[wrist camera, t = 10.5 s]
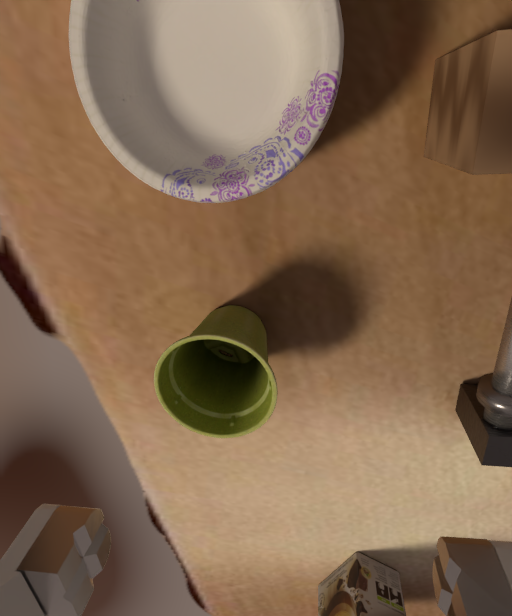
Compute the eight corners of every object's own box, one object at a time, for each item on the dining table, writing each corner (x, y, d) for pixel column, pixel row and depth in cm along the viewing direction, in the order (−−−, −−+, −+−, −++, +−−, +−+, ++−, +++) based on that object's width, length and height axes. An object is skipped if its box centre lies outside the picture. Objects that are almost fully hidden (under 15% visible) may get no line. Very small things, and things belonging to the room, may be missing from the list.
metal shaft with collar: (491, 197, 29) (536, 218, 23) (551, 196, 29) (614, 217, 23) (449, 409, 37) (475, 465, 31) (495, 411, 37) (530, 469, 31)
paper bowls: (209, -133, 24) (165, -239, 17) (384, 60, 27) (409, 39, 20) (87, 88, 30) (17, 79, 23) (240, 225, 33) (220, 255, 26)
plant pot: (301, 310, 35) (297, 364, 28) (264, 388, 40) (251, 454, 32) (202, 272, 35) (170, 316, 27) (176, 354, 39) (141, 413, 32)
